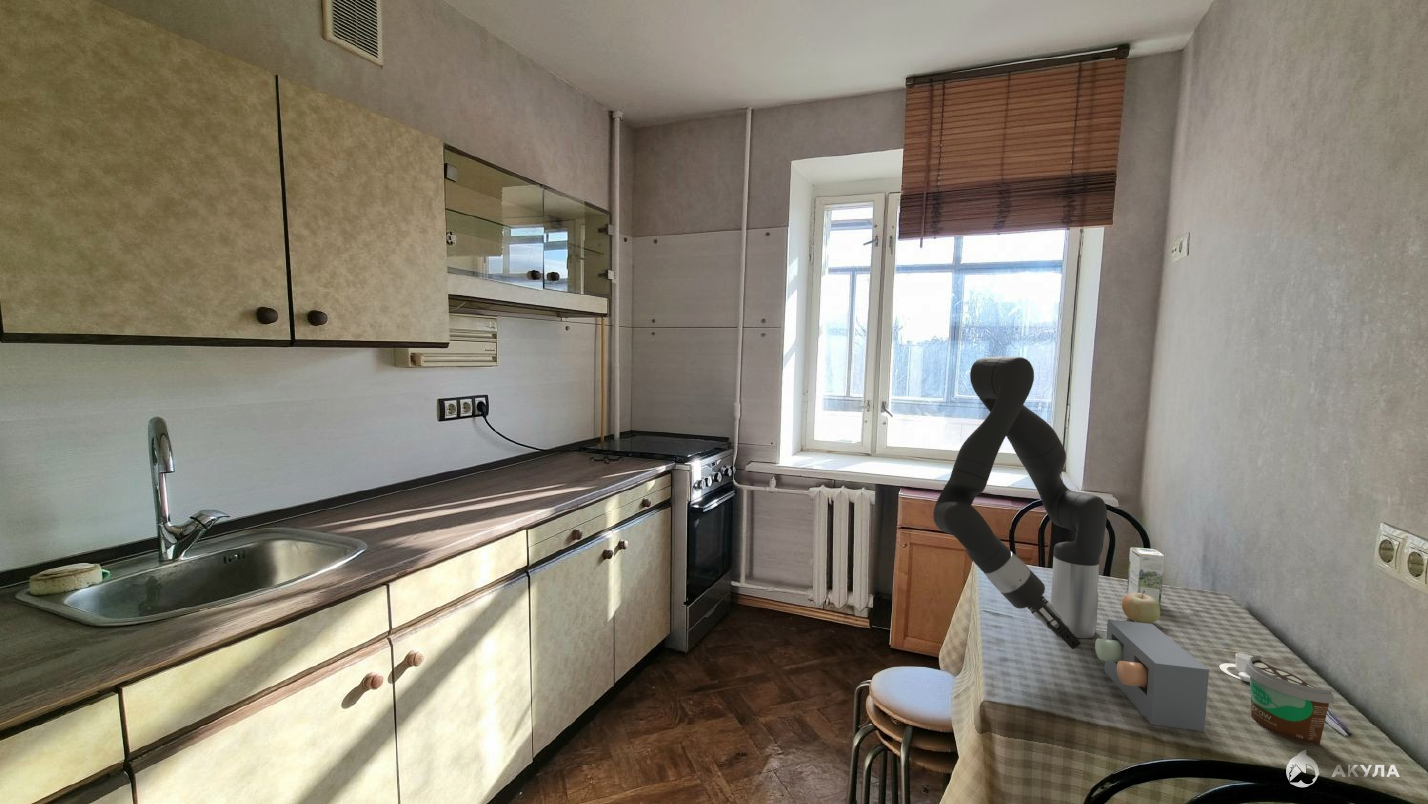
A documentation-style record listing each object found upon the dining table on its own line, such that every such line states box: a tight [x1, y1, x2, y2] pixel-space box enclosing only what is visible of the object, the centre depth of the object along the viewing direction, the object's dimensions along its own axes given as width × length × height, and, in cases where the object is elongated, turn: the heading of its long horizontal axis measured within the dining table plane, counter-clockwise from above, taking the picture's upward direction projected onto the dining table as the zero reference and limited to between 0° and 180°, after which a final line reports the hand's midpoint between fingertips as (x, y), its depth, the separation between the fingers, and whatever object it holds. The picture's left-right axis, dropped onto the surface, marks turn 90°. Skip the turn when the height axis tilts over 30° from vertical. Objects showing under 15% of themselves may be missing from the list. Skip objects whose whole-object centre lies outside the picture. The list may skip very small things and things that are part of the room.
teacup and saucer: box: [1219, 652, 1254, 683], centre depth 116 cm, size 9×8×4 cm
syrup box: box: [1126, 546, 1165, 608], centre depth 152 cm, size 6×6×14 cm
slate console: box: [1103, 618, 1210, 732], centre depth 106 cm, size 8×18×11 cm, turn 167°
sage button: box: [1094, 637, 1124, 662], centre depth 112 cm, size 4×4×4 cm
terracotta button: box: [1117, 661, 1149, 687], centre depth 103 cm, size 4×4×4 cm
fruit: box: [1121, 590, 1161, 624], centre depth 141 cm, size 8×7×8 cm
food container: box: [1245, 654, 1335, 745], centre depth 99 cm, size 12×6×10 cm, turn 5°
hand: (1075, 644), depth 113 cm, fingers closed
